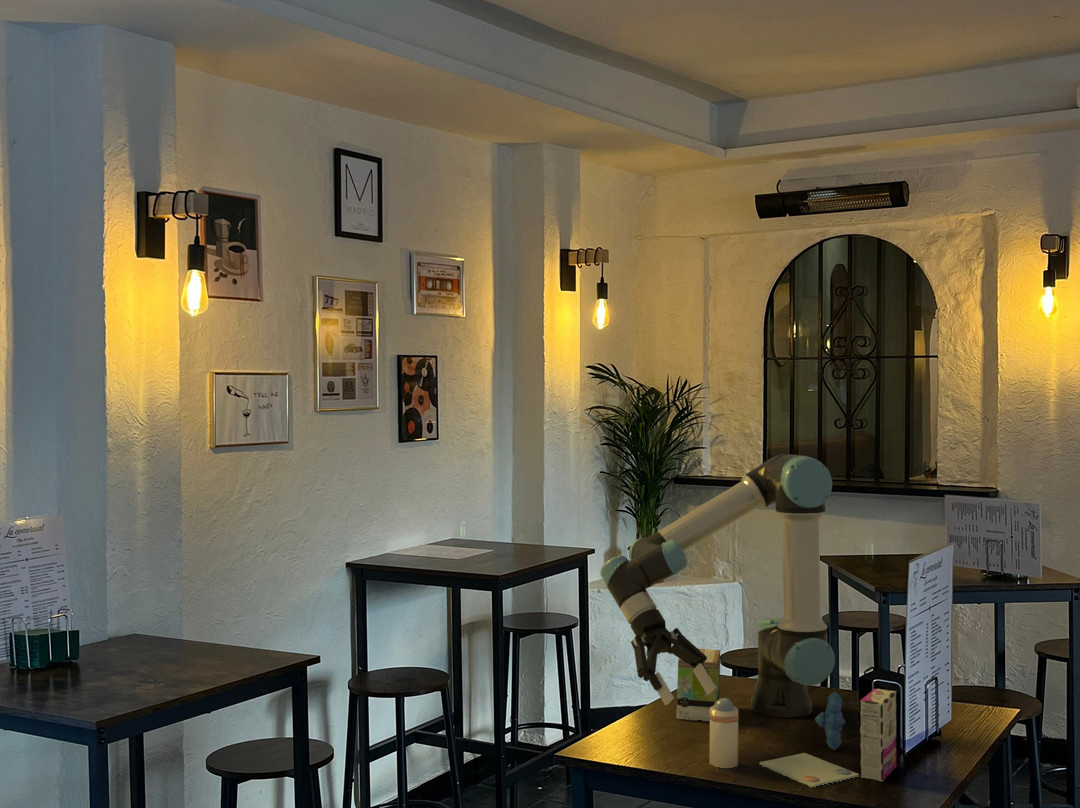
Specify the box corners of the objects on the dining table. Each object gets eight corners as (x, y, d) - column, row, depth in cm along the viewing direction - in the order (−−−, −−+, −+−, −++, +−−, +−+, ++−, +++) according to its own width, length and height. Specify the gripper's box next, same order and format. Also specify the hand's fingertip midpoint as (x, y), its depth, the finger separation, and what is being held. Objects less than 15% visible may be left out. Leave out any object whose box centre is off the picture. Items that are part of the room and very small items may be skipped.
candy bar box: (873, 763, 242) (874, 687, 242) (897, 767, 240) (897, 690, 240) (858, 778, 233) (859, 699, 233) (882, 782, 230) (883, 703, 230)
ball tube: (725, 758, 245) (726, 693, 245) (744, 766, 240) (744, 700, 240) (703, 762, 242) (703, 697, 242) (721, 771, 237) (722, 703, 237)
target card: (804, 755, 247) (804, 751, 247) (859, 777, 234) (859, 773, 234) (759, 765, 241) (759, 761, 241) (812, 787, 227) (812, 783, 227)
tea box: (717, 722, 272) (717, 661, 272) (675, 720, 274) (676, 659, 274) (720, 706, 287) (720, 648, 287) (680, 703, 289) (681, 646, 289)
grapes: (816, 737, 261) (816, 686, 260) (846, 740, 259) (846, 688, 258) (812, 752, 249) (813, 698, 249) (844, 756, 247) (844, 701, 247)
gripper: (672, 620, 268) (719, 696, 257) (595, 633, 252) (642, 715, 241) (689, 601, 264) (738, 678, 253) (612, 613, 248) (660, 696, 237)
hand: (691, 696), depth 247 cm, fingers open, 13 cm apart
